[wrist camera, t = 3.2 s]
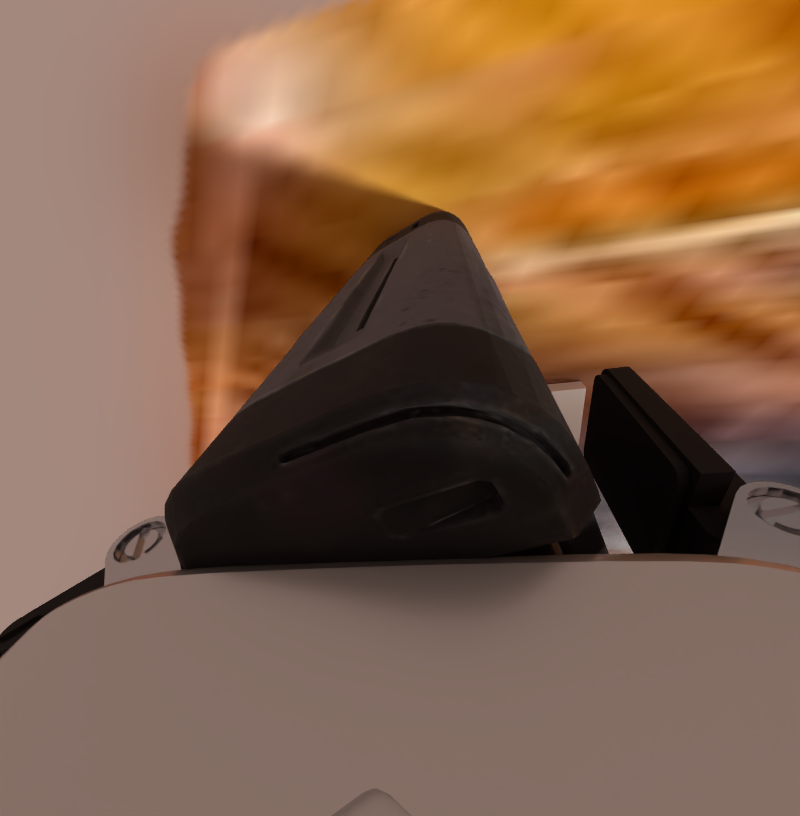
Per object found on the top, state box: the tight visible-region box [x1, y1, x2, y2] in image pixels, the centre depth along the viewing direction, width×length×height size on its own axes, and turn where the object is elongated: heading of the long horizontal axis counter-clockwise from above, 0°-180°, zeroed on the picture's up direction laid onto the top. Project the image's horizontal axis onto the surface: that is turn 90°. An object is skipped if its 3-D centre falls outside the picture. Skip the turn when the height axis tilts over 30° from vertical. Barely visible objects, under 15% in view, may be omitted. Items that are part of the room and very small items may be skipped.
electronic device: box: [165, 211, 609, 569], centre depth 14 cm, size 9×6×20 cm, turn 29°
